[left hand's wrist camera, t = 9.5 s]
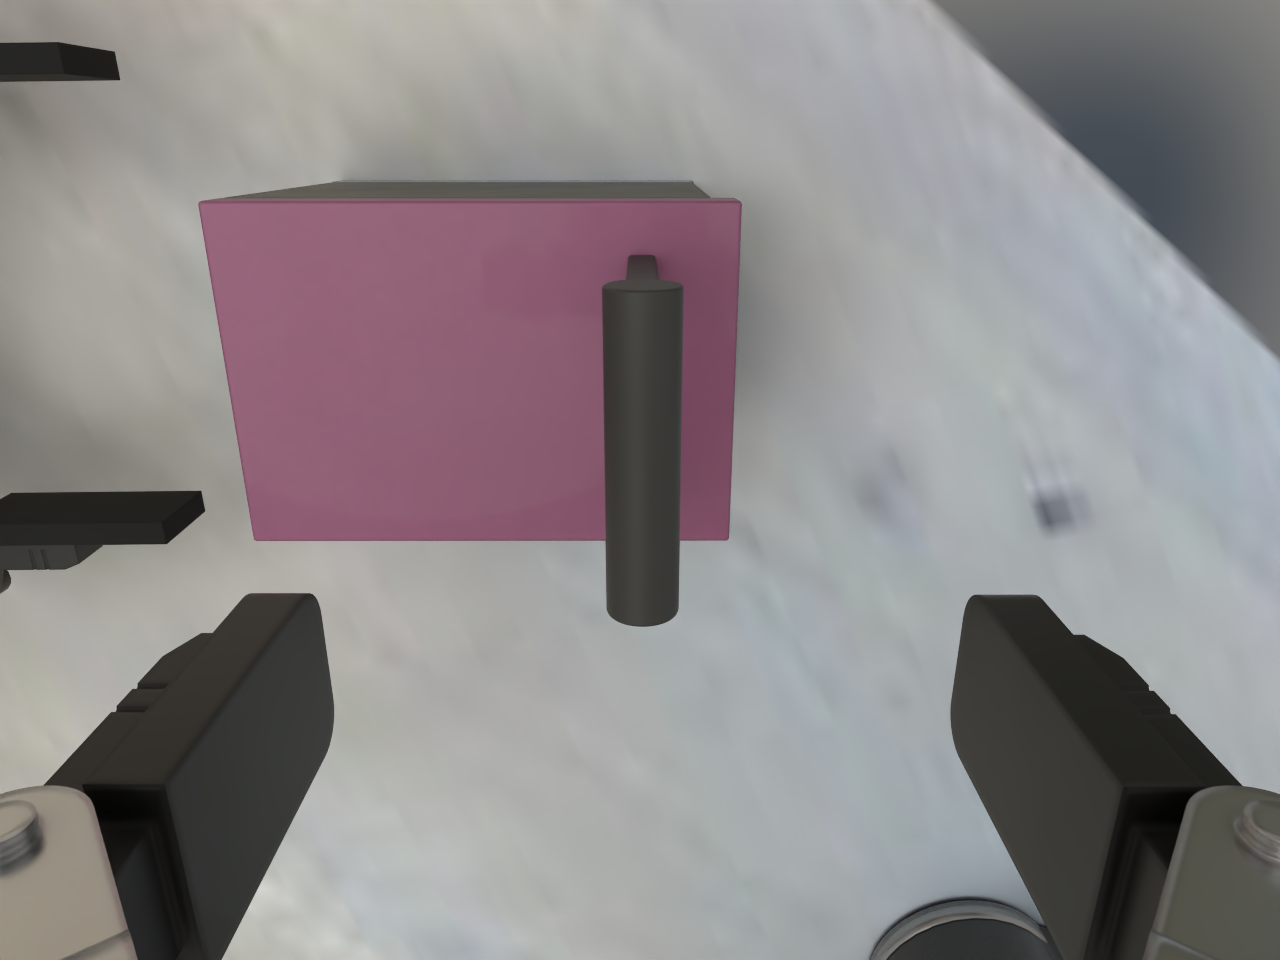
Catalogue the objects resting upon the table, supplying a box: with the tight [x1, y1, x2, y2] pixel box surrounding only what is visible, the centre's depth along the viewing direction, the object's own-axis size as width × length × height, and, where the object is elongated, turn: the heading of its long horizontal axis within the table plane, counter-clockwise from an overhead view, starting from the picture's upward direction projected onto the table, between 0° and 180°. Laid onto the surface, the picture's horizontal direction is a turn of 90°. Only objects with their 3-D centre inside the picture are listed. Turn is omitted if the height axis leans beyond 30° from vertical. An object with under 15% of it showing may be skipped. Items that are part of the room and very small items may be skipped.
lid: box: [199, 198, 742, 627], centre depth 21 cm, size 13×9×8 cm
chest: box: [227, 181, 710, 198], centre depth 30 cm, size 13×9×10 cm
